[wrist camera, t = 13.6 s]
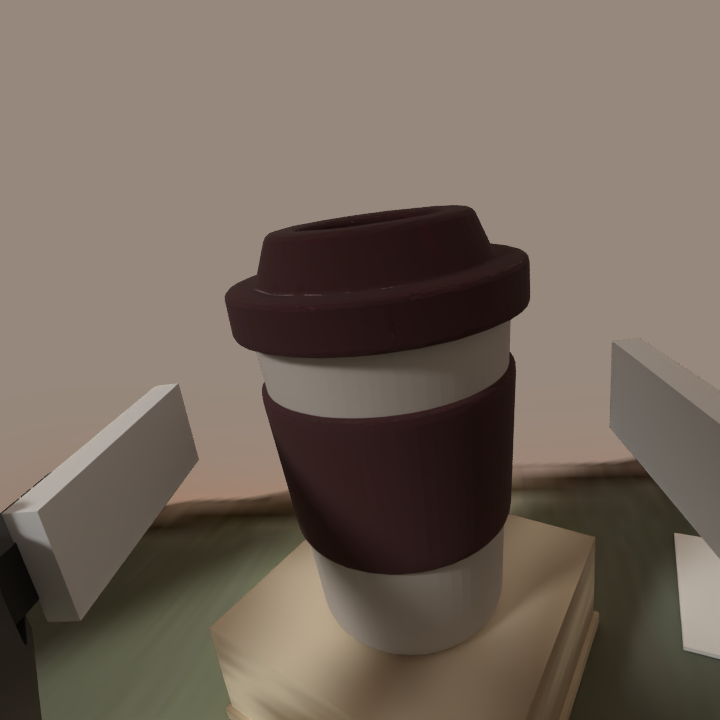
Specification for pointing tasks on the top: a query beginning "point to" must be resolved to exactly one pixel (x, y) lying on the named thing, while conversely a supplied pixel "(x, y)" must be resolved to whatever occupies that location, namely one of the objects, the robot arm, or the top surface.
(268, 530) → the top surface
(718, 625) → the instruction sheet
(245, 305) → the coffee cup
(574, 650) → the tan flat block
